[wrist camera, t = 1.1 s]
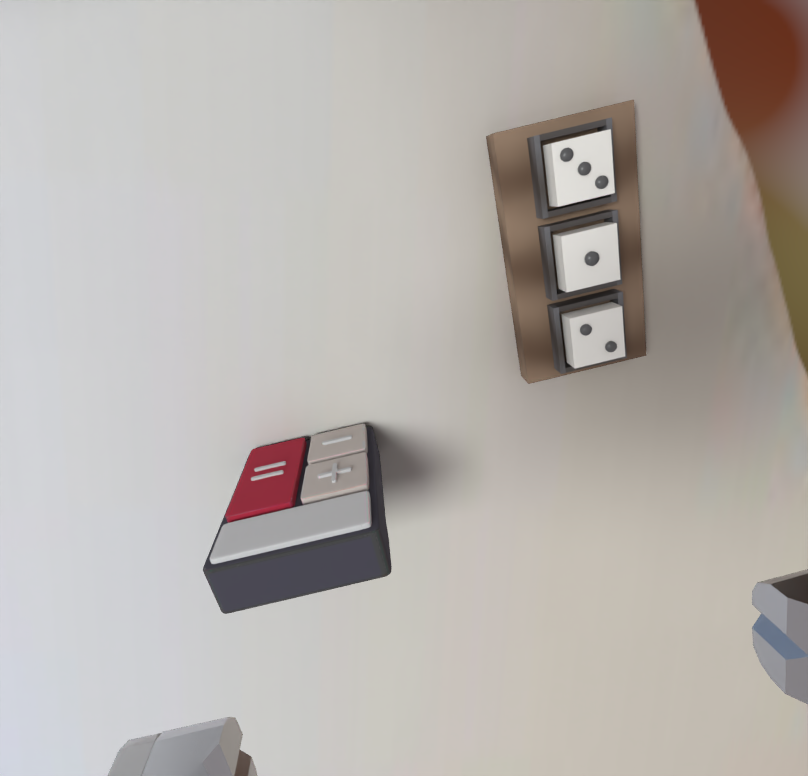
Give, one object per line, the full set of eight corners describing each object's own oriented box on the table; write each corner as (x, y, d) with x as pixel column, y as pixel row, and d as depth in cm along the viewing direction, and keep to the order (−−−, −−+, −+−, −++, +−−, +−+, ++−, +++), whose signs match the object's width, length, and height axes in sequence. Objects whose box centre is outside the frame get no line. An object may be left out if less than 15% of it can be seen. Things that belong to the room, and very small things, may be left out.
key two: (561, 314, 39) (570, 319, 38) (612, 301, 39) (623, 306, 38) (566, 362, 41) (575, 369, 39) (615, 350, 41) (626, 357, 39)
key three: (542, 145, 35) (552, 143, 33) (599, 131, 35) (612, 128, 33) (549, 206, 36) (559, 206, 35) (604, 193, 36) (616, 192, 35)
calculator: (370, 416, 44) (377, 519, 30) (381, 459, 46) (392, 576, 32) (246, 445, 44) (195, 562, 30) (261, 487, 46) (220, 616, 32)
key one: (552, 234, 37) (562, 236, 35) (606, 221, 37) (618, 223, 35) (558, 288, 38) (567, 292, 37) (610, 276, 38) (621, 279, 37)
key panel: (486, 136, 37) (498, 131, 34) (619, 104, 37) (644, 96, 34) (521, 375, 44) (534, 389, 41) (633, 348, 44) (655, 360, 41)
